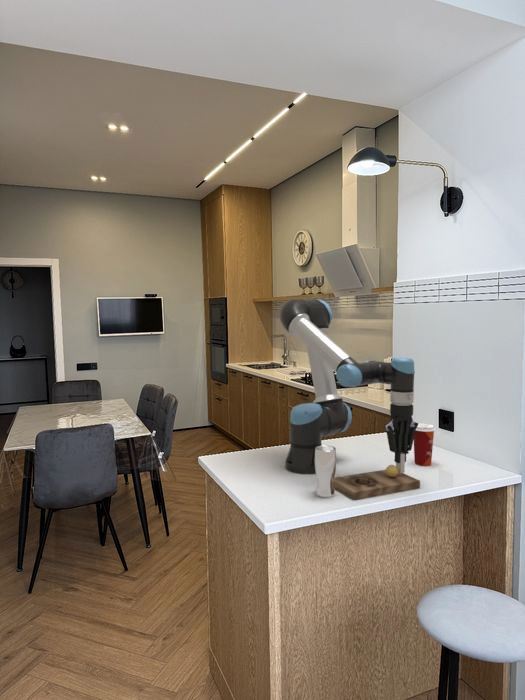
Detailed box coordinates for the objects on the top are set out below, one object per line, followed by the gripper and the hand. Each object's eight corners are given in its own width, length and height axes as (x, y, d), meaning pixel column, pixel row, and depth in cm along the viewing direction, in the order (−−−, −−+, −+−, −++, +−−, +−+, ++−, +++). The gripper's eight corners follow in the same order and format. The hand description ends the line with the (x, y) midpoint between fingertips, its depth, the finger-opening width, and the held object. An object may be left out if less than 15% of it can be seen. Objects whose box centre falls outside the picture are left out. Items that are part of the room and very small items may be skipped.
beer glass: (321, 488, 162) (322, 444, 161) (340, 493, 157) (340, 447, 156) (310, 494, 156) (310, 448, 155) (328, 499, 152) (329, 452, 151)
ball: (385, 477, 165) (385, 466, 164) (386, 474, 168) (386, 462, 168) (397, 479, 163) (397, 467, 163) (398, 475, 167) (398, 464, 167)
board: (353, 500, 152) (353, 492, 151) (330, 485, 164) (330, 478, 164) (419, 488, 162) (420, 480, 162) (392, 475, 175) (392, 468, 175)
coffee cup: (435, 467, 183) (436, 428, 182) (412, 466, 185) (413, 427, 184) (432, 461, 191) (433, 423, 190) (410, 459, 193) (411, 422, 192)
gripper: (393, 407, 159) (391, 477, 161) (424, 403, 165) (422, 472, 167) (379, 403, 166) (377, 470, 168) (409, 400, 172) (407, 466, 173)
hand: (400, 471), depth 167 cm, fingers closed
